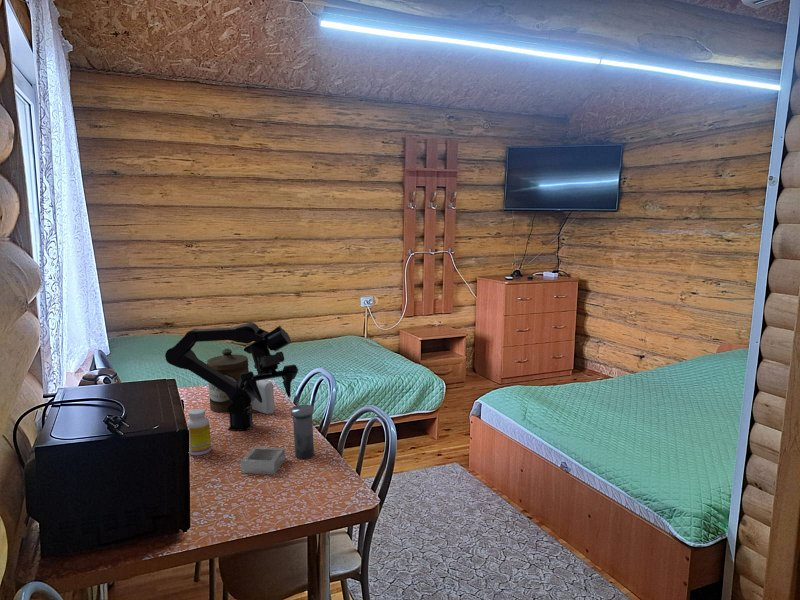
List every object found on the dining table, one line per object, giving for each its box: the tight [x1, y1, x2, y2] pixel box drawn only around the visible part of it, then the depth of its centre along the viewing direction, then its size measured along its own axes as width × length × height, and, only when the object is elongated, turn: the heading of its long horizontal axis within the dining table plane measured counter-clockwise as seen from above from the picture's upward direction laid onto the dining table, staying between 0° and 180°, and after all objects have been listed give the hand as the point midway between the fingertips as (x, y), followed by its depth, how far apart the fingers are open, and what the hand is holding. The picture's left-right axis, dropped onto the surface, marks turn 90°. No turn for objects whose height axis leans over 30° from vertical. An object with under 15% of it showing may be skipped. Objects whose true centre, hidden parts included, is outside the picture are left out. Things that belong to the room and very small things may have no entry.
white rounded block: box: [251, 379, 276, 415], centre depth 205 cm, size 10×4×12 cm, turn 48°
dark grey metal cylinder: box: [290, 404, 315, 460], centre depth 167 cm, size 7×7×14 cm
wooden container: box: [206, 348, 252, 413], centre depth 210 cm, size 15×15×22 cm
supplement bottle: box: [186, 408, 212, 456], centre depth 171 cm, size 7×7×13 cm
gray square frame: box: [240, 446, 286, 475], centre depth 161 cm, size 10×10×4 cm
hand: (275, 399), depth 178 cm, fingers open, 9 cm apart
